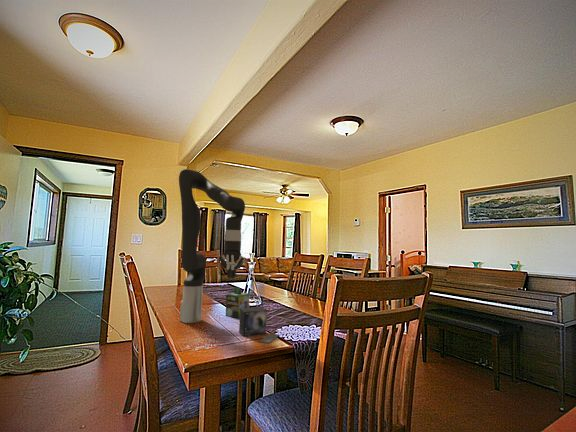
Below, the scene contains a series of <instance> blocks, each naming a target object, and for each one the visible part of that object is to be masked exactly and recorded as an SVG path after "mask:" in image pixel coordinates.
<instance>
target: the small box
mask: <svg viewBox="0 0 576 432" xmlns="http://www.w3.org/2000/svg"><path fill="white" fill-rule="evenodd" d="M267 310H268V309H266V308H264V307H262V306H258V307H256V306H255V307H249V308H241V309H240V318H239V328H238V329H239V330H238V333H239V334H240V335H241V337H242V336H243V337H250V336H258V335H266V333H267V318H268V317H267V315H268V314H267V312H268V311H267Z"/></svg>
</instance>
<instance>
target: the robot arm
mask: <svg viewBox="0 0 576 432" xmlns="http://www.w3.org/2000/svg"><path fill="white" fill-rule="evenodd" d="M178 186H179V192H180V193H179V194H180V202H181V203H180V204H181V229H182V230H181V231H182V233H181V235H182V238H181V239H182V248H181V267H182V269H183V270H184V271H185V272H187V273H188V275H187V276H186V277H185V278H184V280H183V288H182V289H183V290H182V300H181V301H180V313H179V321H180V322H182V323H185V324H195V323H200V322H201V321H202V315H203V314H202V311H203V309H202V308H203V289H204V287H203V286H204V281H205V277H206V271H207V270H206V268H207V259H206V257H205V255H204V254H203V253H201V252H197V242H198V241H197V240H198V238H199V235H200V232H201V229H202V214H201V211H200V208H199V206H198V204H197V203H196V200H195V199H194V195H193V189H196V190H199V191H202V192H204V193H205V194H206V196H207V197H208V198H209V199H210V200H212V201H213V202H215V203H217V204H218V205H219V206H221V208H222V209H223V210H225V211H227V212H231V216H230V217H229V216H228V217H227V218H226V220H225V230H224V231H225V232H224V243H223V244H224V245H223V247H224V248H223V250H224V251H223V254H222V255H220V256H219V257H218V260H219V262H220V263H221V266H222V268H223V269H226V277H227V278H228V279H235V278H236V276H237V270H239V269H241V268H242V266H243V264H244V262H245V261H246V257H245V256H243V255H242V252H241V250H242V249H241V247H242V220H243V217H244V213H245V210H246V204H245V200H244V199H243V198H241V197H237V196H233V195H230V194H229V192H228V191H227V190H225V189H223V188H221V187H220V186H218V185H216V184H214V183H213V182H212V181H210V180H209V179H208V178H206V176H205V175H203V174H202V173H201V172H200V171H198V170H193V169H189V168H183V169H182V170H181V171H180V173H179V175H178Z"/></svg>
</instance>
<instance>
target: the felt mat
mask: <svg viewBox="0 0 576 432" xmlns="http://www.w3.org/2000/svg"><path fill="white" fill-rule="evenodd" d="M279 336H280V334H278V333H272V332H270V333H269V334H267V335H266V336H265V337H263V338H262V339H261V340H259V343H262V344H263V343H264V344H270V343H272V342H273V341H274V340H275V339H277V338H278V337H279Z"/></svg>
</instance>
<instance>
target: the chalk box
mask: <svg viewBox="0 0 576 432" xmlns="http://www.w3.org/2000/svg"><path fill="white" fill-rule="evenodd" d="M241 308H250V293H249V292H242V290H241V288H240V287H233V292H230V293H227V294H226V296H225V316H227V317H231V318H234V319H235V318H236V319H240V309H241Z"/></svg>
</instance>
